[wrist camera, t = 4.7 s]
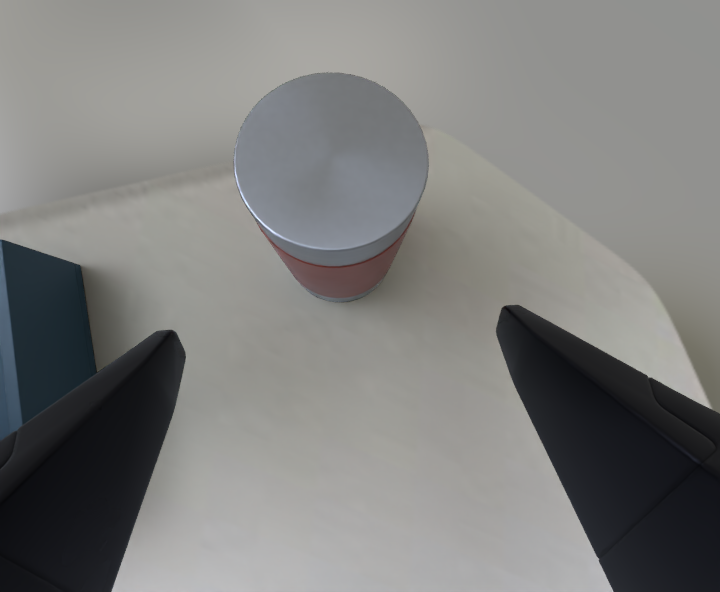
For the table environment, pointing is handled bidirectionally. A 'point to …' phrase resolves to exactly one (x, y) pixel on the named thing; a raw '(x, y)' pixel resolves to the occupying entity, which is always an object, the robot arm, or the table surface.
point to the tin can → (332, 179)
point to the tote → (40, 333)
